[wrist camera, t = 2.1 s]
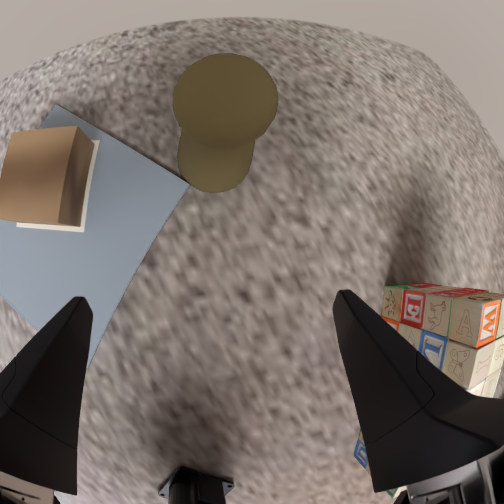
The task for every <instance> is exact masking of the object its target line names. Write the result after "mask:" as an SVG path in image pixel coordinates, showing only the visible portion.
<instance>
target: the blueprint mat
mask: <svg viewBox="0 0 504 504" xmlns="http://www.w3.org/2000/svg"><path fill="white" fill-rule="evenodd" d="M68 126H78V127H79V128H80V129H81V130H82V131H83V132H84V134H85V135H86V136H87V137H88V138H89V139H90V140H91V141H92V142H93V143H94V144H95V145H94V150H93V154H92V158H91V163H90V168H89V173H88V178H87V184H86V189H85V196H84V202H83V209H82V217H81V226H80V227H73V226H60V225H46V224H32V223H19V222H12V221H6V220H0V295H1V296H2V297H3V298H4V299H5V300H6V301H7V302H8V303H9V304H10V305H11V306H12V307H13V308H14V309H15V310H16V311H17V312H18V313H19V314H20V315H21V316H22V317H23V318H24V319H25V320H26V321H27V322H29V323H30V324H31V325H32V326H33V327H34V328H35V329H36V330H37V331H40V330H41V329H42V328H43V326H44V325H45V324H46V323H47V322H48V321H49V320H50V319H51V318H52V317H53V316H54V315H55V314H57V313H58V312H59V311H60V310H61V309H62V308H63V307H64V306H65V305H66V304H67V303H68V302H69V301H70V300H71V299H72V298H73V297H75V296H83V297H85V298H86V300H87V302H88V304H89V305H90V307H91V309H92V312H93V323H92V331H91V340H90V350H89V356H88V362H87V368H86V369H88V367H89V365H90V363H91V360H92V358H93V356H94V354H95V351H96V349H97V347H98V345H99V343H100V341H101V338H102V336H103V334H104V332H105V330H106V328H107V326H108V324H109V322H110V320H111V318H112V316H113V314H114V312H115V310H116V308H117V306H118V304H119V302H120V300H121V299H122V297H123V295H124V293H125V291H126V289H127V287H128V286H129V284H130V282H131V280H132V278H133V276H134V275H135V273H136V271H137V269H138V268H139V266H140V264H141V262H142V261H143V259H144V257H145V255H146V254H147V252H148V250H149V249H150V247H151V245H152V244H153V242H154V240H155V239H156V237H157V235H158V234H159V232H160V231H161V229H162V227H163V226H164V224H165V222H166V221H167V219H168V218H169V216H170V215H171V213H172V212H173V210H174V208H175V207H176V205H177V204H178V202H179V201H180V199H181V198H182V196H183V195H184V193H185V192H186V190H187V189H188V187H189V186H190V184H188V183H187V182H185V181H184V180H182V179H180V178H179V177H177V176H176V175H174V174H172V173H171V172H169V171H167V170H166V169H164V168H163V167H161V166H159V165H158V164H156V163H154V162H153V161H151V160H150V159H148V158H146V157H145V156H143V155H141V154H140V153H138V152H136V151H135V150H133V149H131V148H130V147H128V146H126V145H125V144H123V143H121V142H120V141H118V140H116V139H115V138H113V137H111V136H110V135H108V134H106V133H105V132H103V131H101V130H100V129H98V128H96V127H94V126H93V125H91V124H89V123H88V122H86V121H84V120H82V119H81V118H79V117H77V116H75V115H74V114H72V113H70V112H69V111H67V110H65V109H63V108H62V107H60V106H58V105H55V107H54V108H53V109H52V111H51V112H50V113H49V115H48V116H47V117H46V119H45V120H44V122H43V123H42V124H41V126H40V127H39V129H45V128H55V127H68Z"/></svg>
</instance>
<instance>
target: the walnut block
mask: <svg viewBox="0 0 504 504" xmlns="http://www.w3.org/2000/svg"><path fill="white" fill-rule="evenodd" d="M94 145H95V144H94V143H93V142H92V141H91V140H90V139H89V138H88V137H87V136H86V135H85V134H84V132H83V131H82V130H81V129H80V128H79V127H78V126H68V127H55V128H45V129H37V130H29V131H21V132H15V133H12V135H11V138H10V141H9V145H8V148H7V152H6V156H5V160H4V164H3V168H2V173H1V178H0V220H6V221H12V222H19V223H32V224H46V225H60V226H73V227H80V226H81V217H82V209H83V202H84V196H85V189H86V184H87V178H88V173H89V168H90V163H91V158H92V154H93V150H94Z"/></svg>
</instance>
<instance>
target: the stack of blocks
mask: <svg viewBox="0 0 504 504" xmlns="http://www.w3.org/2000/svg"><path fill="white" fill-rule="evenodd" d="M381 317H382V318H383V319H384V320H385V321H386V322H387V323H389V324H390V325H391V326H392V327H393V328H394V329H395V330H396V331H397V332H398V333H400V334H401V335H402V336H403V337H404V338H405V339H406V340H407V341H408V342H409V343H410V344H412V345H413V346H414V347H415V348H416V349H417V350H418V351H419V352H420V353H421V354H422V355H423V356H425V357H426V358H427V359H428V360H429V361H430V362H431V363H432V364H433V365H435V366H436V367H437V368H438V369H440V370H441V371H442V372H443V373H444V374H446V375H447V376H448V377H450V378H451V379H452V380H453V381H455V382H456V383H457V384H458V385H460V386H461V387H462V388H463V389H465V390H466V391H468V392H470V393H471V394H474V395H477V396H482V397H490V398H492V397H493V394H494V392H495V389H496V385H497V382H498V379H499V375H500V372H501V366H502V363H503V359H504V294H498V293H489V291H487V290H480V289H472V288H458V287H449V286H441V285H434V284H427V283H422V284H407V285H394V286H385V287H384V299H383V309H382V316H381ZM354 457H355V458H356V459H357V460H358V461H359V463H360V464H361V465H362V466H363V467H364V468H365V469H366V471H367V472H368V473H369V474H370V476H371V473H370V468H369V463H368V459H367V454H366V450H365V445H364V440H363V436H362V432H360V435H359V440H358V443H357V446H356V450H355V453H354ZM406 489H407V488H406V486H403V487H399V488H395V489H391V490H386V492H387V493H388V494H389V495H390V496H391V497H392V498H395V497H397V496H399V494H400V492H401V491H404V490H406Z"/></svg>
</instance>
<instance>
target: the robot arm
mask: <svg viewBox="0 0 504 504" xmlns="http://www.w3.org/2000/svg"><path fill="white" fill-rule="evenodd" d="M333 316H334V321H335V326H336V332H337V338H338V343H339V348H340V352H341V356H342V359H343V363H344V366H345V370H346V374H347V377H348V381H349V384H350V388H351V392H352V396H353V399H354V403H355V407H356V411H357V415H358V419H359V423H360V427H361V432H362V436H363V440H364V445H365V450H366V454H367V459H368V463H369V468H370V473H371V478H372V483H373V488H374V492H375V493H377V492H382V491H386V490H391V489H395V488H399V487H403V486H406V488H407V489H406V490H404V491H401V492H400V494H399V496H398V497H397V499H396V501H395V502H394V504H504V399H498V398H490V397H482V396H477V395H474V394H471V393H470V392H468V391H466V390H465V389H463V388H462V387H461V386H460V385H458V384H457V383H456V382H455V381H453V380H452V379H451V378H450V377H448V376H447V375H446V374H444V373H443V372H442V371H441V370H440V369H438V368H437V367H436V366H435V365H433V364H432V363H431V362H430V361H429V360H428V359H427V358H426V357H425V356H423V355H422V354H421V353H420V352H419V351H418V350H417V349H416V348H415V347H414V346H413V345H412V344H410V343H409V342H408V341H407V340H406V339H405V338H404V337H403V336H402V335H401V334H400V333H398V332H397V331H396V330H395V329H394V328H393V327H392V326H391V325H390V324H389V323H387V322H386V321H385V320H384V319H383V318H382V317H381V316H380V315H378V314H377V313H376V312H375V311H374V310H373V309H372V308H371V307H369V306H368V305H367V304H366V303H365V302H364V301H363V300H362V299H360V298H359V297H358V296H357V295H356V294H355V293H354V292H352V291H351V290H349V289H345V290H339V291H338V292H337V295H336V298H335V301H334V304H333ZM92 323H93V312H92V309H91V307H90V305H89V304H88V302H87V300H86V298H85V297H83V296H75V297H73V298H72V299H71V300H70V301H69V302H68V303H67V304H66V305H65V306H64V307H63V308H62V309H61V310H60V311H59V312H58V313H57V314H55V315H54V316H53V317H52V318H51V319H50V320H49V321H48V322H47V323H46V324H45V325H44V326H43V328H42V329H41V330H40V331H39V332H38V333H37V334H36V335H35V336H34V337H33V338H32V339H31V340H30V341H29V342H28V343H27V344H26V345H25V346H24V347H23V349H22V350H21V351H20V352H19V353H18V354H17V355H16V357H14V358H13V360H12V361H11V362H10V363H9V364H8V365H7V366H6V367H5V368H4V370H3V371H2V372H1V373H0V504H60V502H59V501H58V499H57V498H56V496H54V490H56V491H59V492H63V493H68V494H72V495H77V444H78V429H79V418H80V409H81V400H82V393H83V386H84V379H85V373H86V368H87V362H88V356H89V350H90V340H91V331H92ZM233 488H234V483H233V482H231V481H227V480H223V479H220V478H216V477H213V476H210V475H206V474H203V473H200V472H197V471H194V470H191V469H188V468H186V467H179V468H178V469H177V470H176V471H175V472H174V474H173V475H172V476H171V477H170V478H169V480H168V481H167V482H166V483H165V484H164V485H163V487H162V488H161V489H160V490H159V491H158V495H159V496H161V497H163V498H166V499H169V502H168V504H226V499H225V495H226V494H227V493H228V492H230V491H231V490H232V489H233Z"/></svg>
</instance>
